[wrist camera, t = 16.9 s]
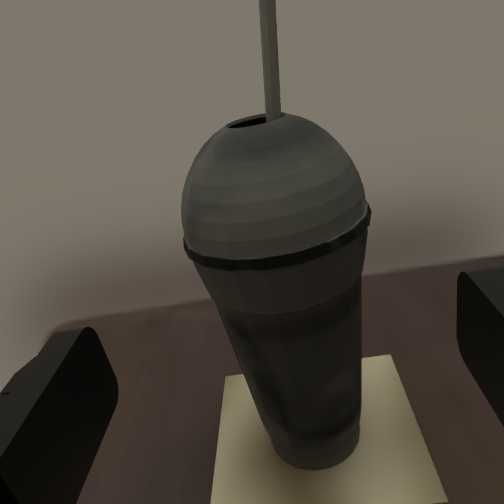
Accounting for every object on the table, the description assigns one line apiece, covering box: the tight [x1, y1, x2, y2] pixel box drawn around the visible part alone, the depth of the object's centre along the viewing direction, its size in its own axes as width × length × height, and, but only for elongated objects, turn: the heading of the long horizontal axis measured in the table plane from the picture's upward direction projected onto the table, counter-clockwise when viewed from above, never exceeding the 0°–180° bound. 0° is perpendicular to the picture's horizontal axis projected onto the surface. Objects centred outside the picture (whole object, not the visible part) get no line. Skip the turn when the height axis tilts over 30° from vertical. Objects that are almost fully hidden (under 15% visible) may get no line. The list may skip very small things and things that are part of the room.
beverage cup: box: [181, 0, 371, 471], centre depth 17 cm, size 7×7×20 cm
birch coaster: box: [211, 355, 448, 504], centre depth 22 cm, size 10×9×1 cm
